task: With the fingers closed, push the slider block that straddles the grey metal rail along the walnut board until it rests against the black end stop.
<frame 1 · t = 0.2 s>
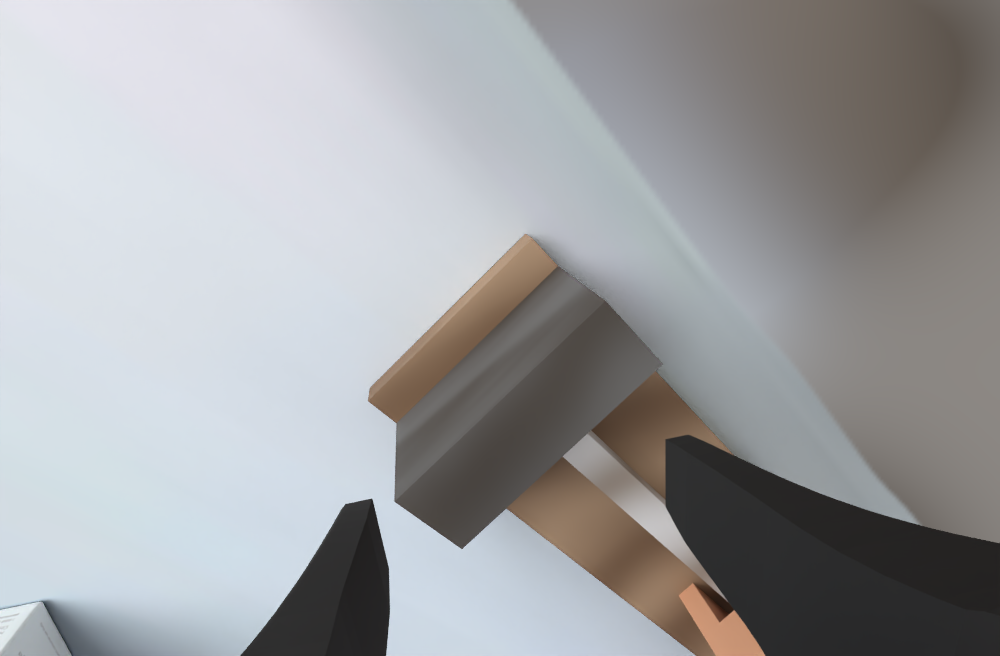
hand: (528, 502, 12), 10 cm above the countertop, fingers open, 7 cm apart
rail board: (747, 589, 29), on the countertop
slider block: (742, 589, 27), point 1 cm above the countertop, touching rail board
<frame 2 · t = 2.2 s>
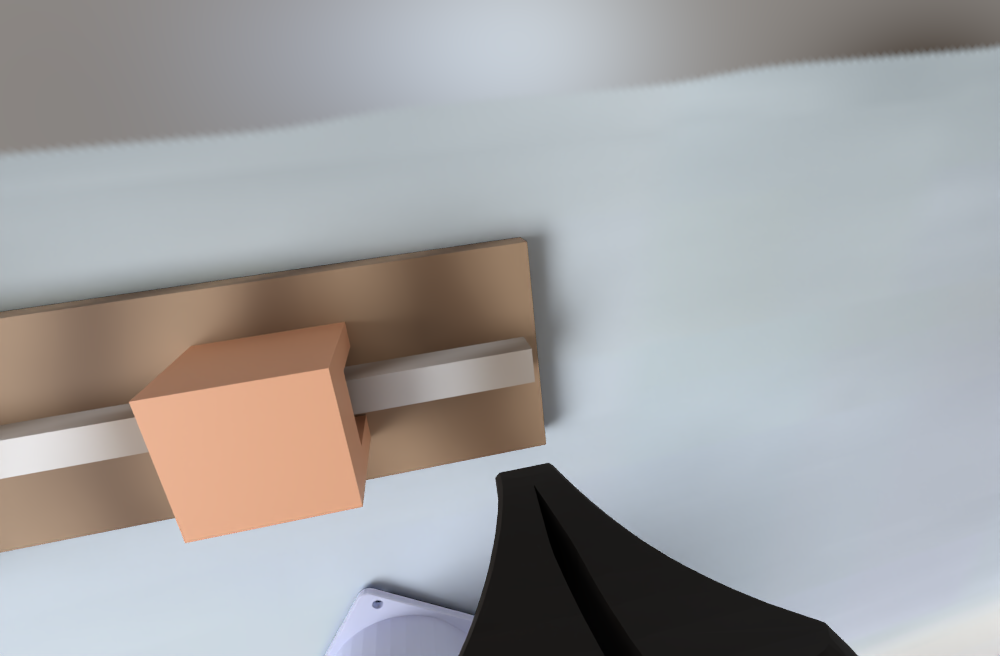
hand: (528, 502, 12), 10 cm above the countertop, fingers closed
rail board: (342, 372, 21), on the countertop
slider block: (286, 393, 20), point 1 cm above the countertop, touching rail board
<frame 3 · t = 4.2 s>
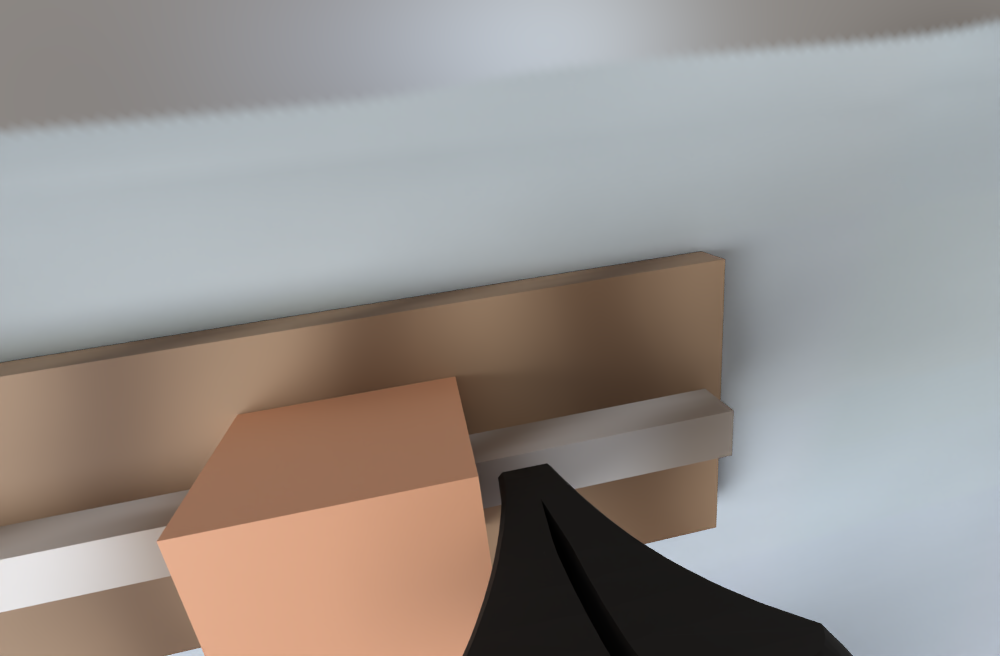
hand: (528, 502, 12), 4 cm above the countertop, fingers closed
rail board: (452, 437, 15), on the countertop
slider block: (368, 476, 14), point 1 cm above the countertop, touching gripper
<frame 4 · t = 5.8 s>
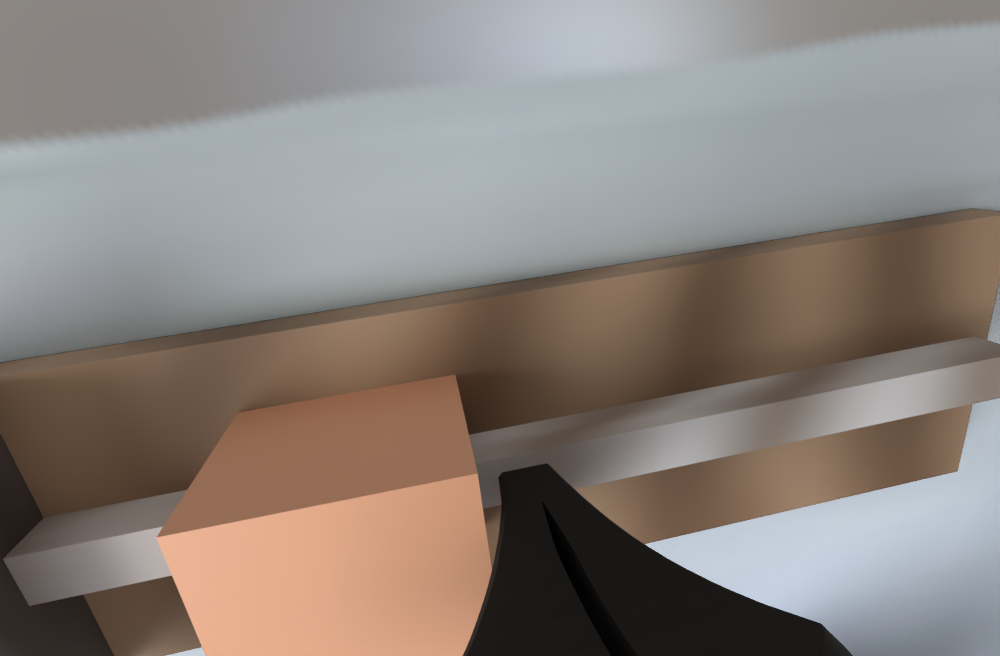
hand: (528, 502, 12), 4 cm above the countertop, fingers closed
rail board: (732, 382, 17), on the countertop
slider block: (368, 474, 14), point 1 cm above the countertop, touching gripper, rail board
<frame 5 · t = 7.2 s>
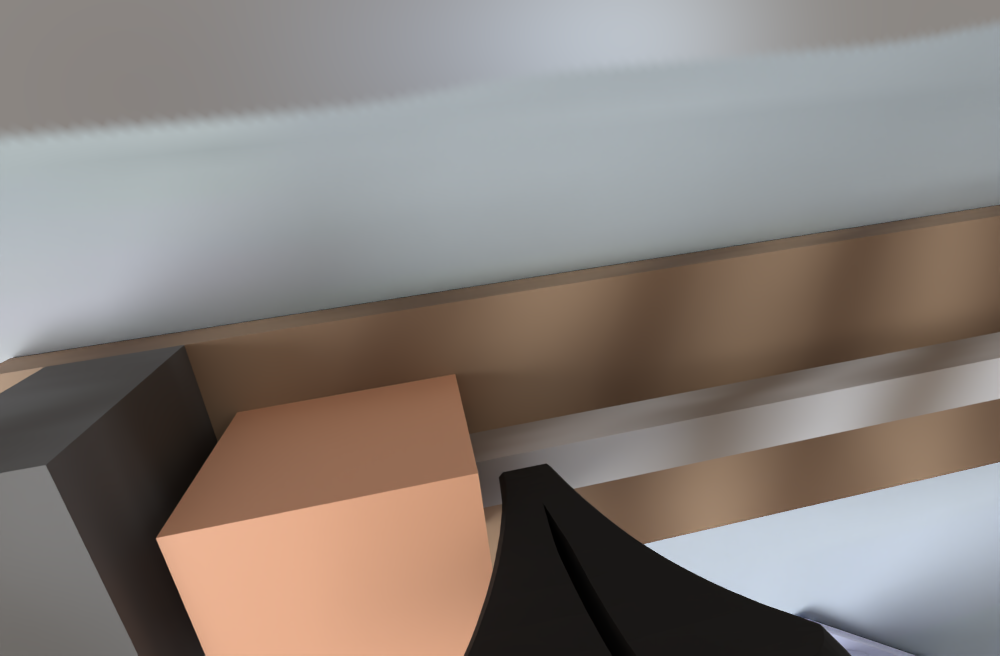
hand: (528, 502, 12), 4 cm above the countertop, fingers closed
rail board: (856, 359, 17), on the countertop
slider block: (368, 474, 14), point 1 cm above the countertop, touching gripper, rail board
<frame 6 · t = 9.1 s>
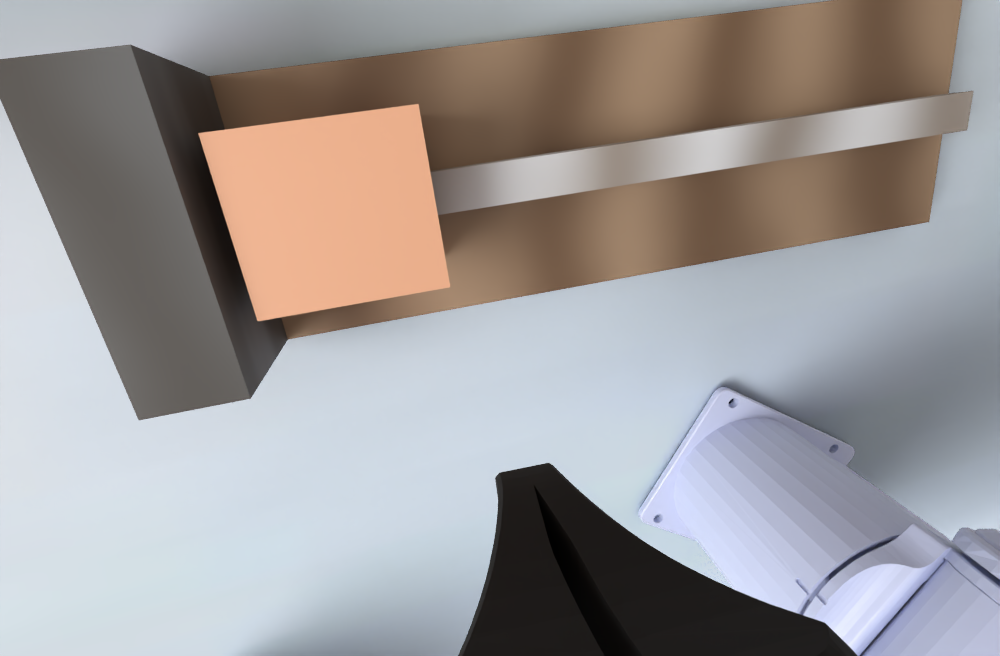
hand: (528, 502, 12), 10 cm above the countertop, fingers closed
rail board: (748, 140, 21), on the countertop
slider block: (351, 202, 18), point 1 cm above the countertop, touching rail board
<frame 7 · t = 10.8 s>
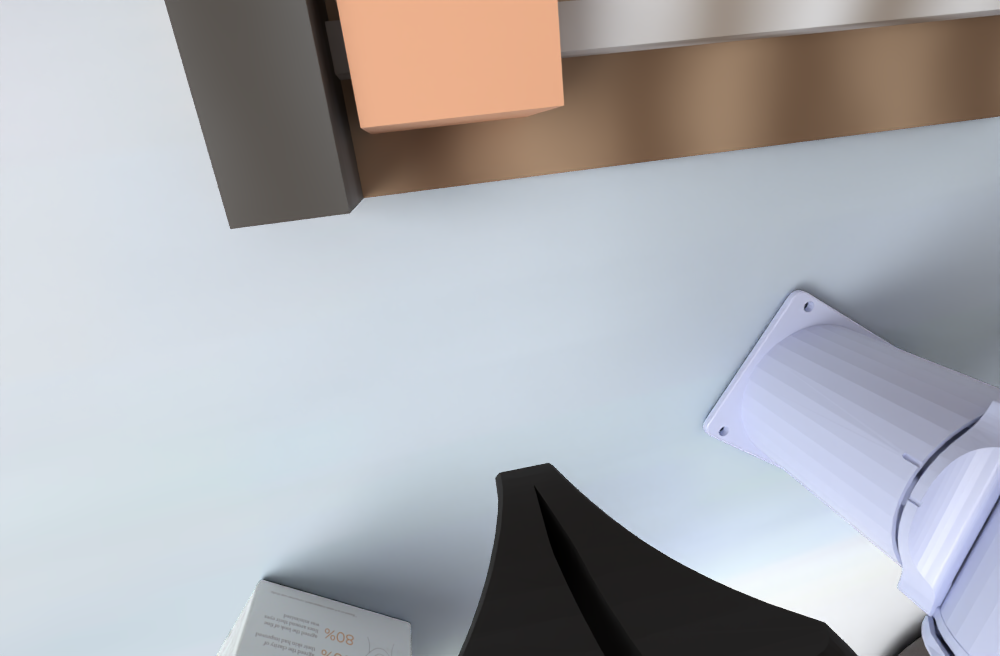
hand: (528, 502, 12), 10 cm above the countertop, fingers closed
rail board: (843, 14, 20), on the countertop
small box: (316, 636, 26), on the countertop
slider block: (439, 44, 17), point 1 cm above the countertop, touching rail board
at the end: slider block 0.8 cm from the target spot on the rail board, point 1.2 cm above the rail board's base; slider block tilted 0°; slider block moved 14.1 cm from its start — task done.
